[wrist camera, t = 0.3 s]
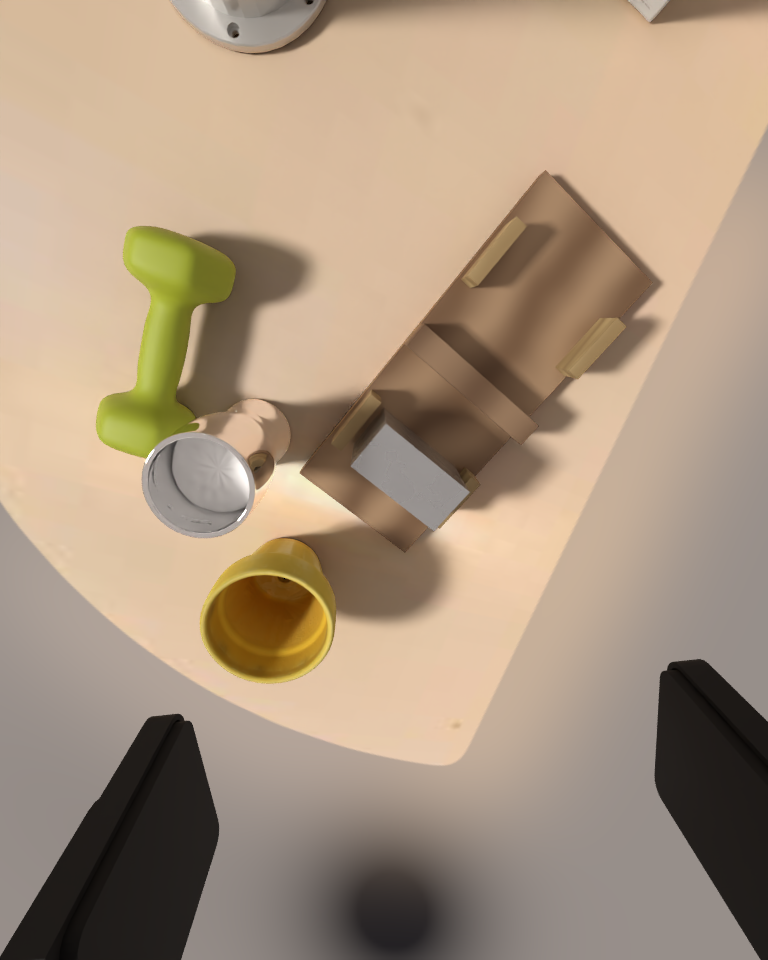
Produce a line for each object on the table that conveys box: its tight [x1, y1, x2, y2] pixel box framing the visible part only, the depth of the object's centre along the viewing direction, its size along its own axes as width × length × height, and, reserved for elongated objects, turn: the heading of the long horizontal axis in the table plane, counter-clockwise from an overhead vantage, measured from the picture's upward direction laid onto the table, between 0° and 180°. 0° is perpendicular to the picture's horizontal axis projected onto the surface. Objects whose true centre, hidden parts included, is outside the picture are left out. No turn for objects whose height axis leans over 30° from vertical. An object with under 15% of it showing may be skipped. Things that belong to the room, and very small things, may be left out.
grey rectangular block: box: [350, 408, 470, 531], centre depth 39 cm, size 8×4×7 cm, turn 50°
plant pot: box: [200, 538, 336, 684], centre depth 42 cm, size 10×10×10 cm
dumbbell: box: [96, 226, 236, 458], centre depth 37 cm, size 16×8×7 cm, turn 161°
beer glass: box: [142, 399, 291, 538], centre depth 36 cm, size 7×7×15 cm
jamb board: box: [300, 170, 653, 552], centre depth 40 cm, size 12×30×4 cm, turn 140°
